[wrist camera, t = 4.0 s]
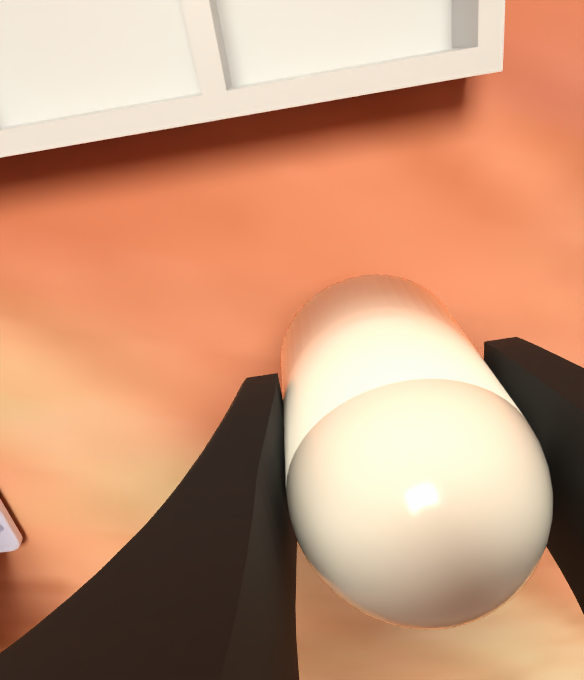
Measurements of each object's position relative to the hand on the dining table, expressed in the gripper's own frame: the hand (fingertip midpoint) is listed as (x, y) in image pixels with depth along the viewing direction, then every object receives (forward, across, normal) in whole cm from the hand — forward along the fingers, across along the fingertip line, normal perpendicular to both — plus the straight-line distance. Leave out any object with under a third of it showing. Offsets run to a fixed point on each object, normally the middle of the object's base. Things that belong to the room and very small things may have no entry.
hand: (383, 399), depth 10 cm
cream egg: (+2, 0, 0) cm, 2 cm away
